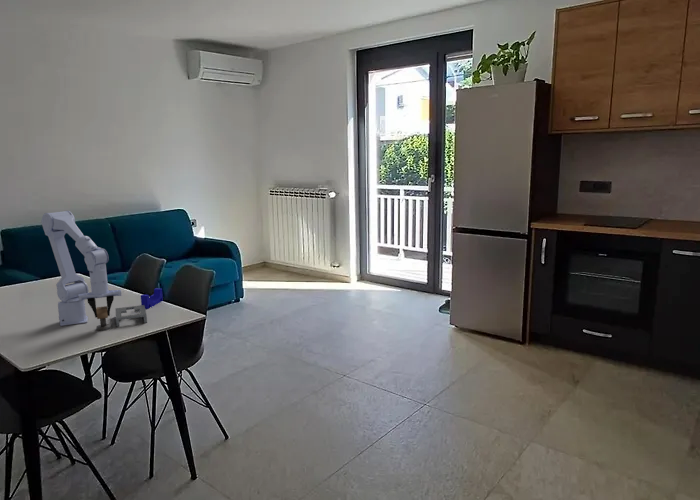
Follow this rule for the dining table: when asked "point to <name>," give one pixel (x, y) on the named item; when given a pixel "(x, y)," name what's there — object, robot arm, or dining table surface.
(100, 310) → the peg
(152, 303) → the blue curved bracket
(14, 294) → the dining table surface
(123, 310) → the notched window frame
